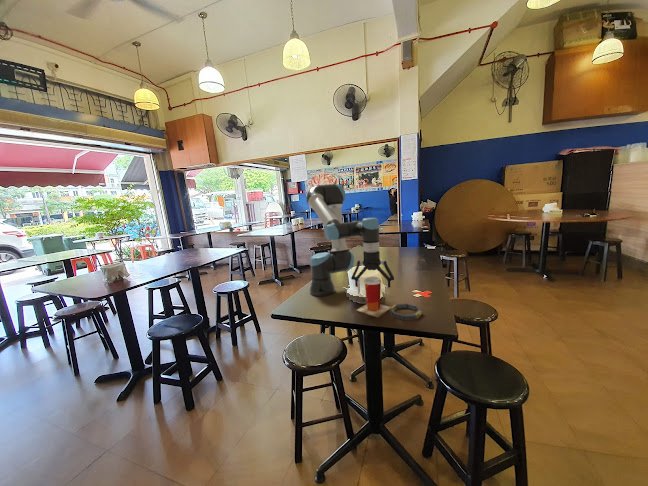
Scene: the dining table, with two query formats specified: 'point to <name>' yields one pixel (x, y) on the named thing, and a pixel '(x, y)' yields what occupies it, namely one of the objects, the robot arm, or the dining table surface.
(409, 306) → the collar
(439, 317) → the dining table surface
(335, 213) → the robot arm
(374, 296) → the coffee cup
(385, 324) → the dining table surface
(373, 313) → the plate
